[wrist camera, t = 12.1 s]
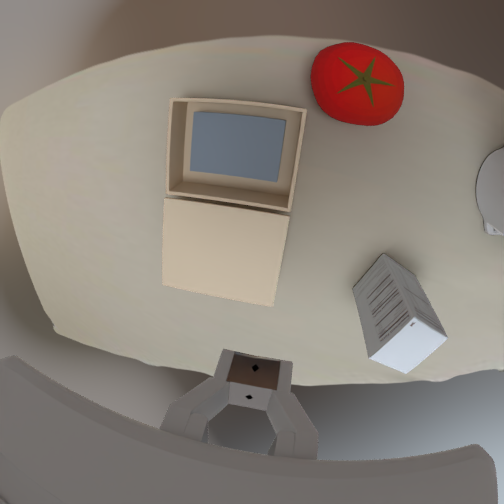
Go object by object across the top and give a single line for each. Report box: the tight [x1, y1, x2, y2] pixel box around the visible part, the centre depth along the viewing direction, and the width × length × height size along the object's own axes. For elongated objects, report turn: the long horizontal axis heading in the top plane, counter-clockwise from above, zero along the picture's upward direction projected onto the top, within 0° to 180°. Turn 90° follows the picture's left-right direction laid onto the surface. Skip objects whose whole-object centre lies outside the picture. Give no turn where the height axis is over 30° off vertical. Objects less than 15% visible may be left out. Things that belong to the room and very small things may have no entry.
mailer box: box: [166, 98, 307, 212], centre depth 37 cm, size 18×14×6 cm
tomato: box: [311, 42, 404, 126], centre depth 28 cm, size 11×12×10 cm
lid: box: [162, 197, 290, 307], centre depth 41 cm, size 18×14×1 cm
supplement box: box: [353, 253, 448, 374], centre depth 40 cm, size 10×9×17 cm
